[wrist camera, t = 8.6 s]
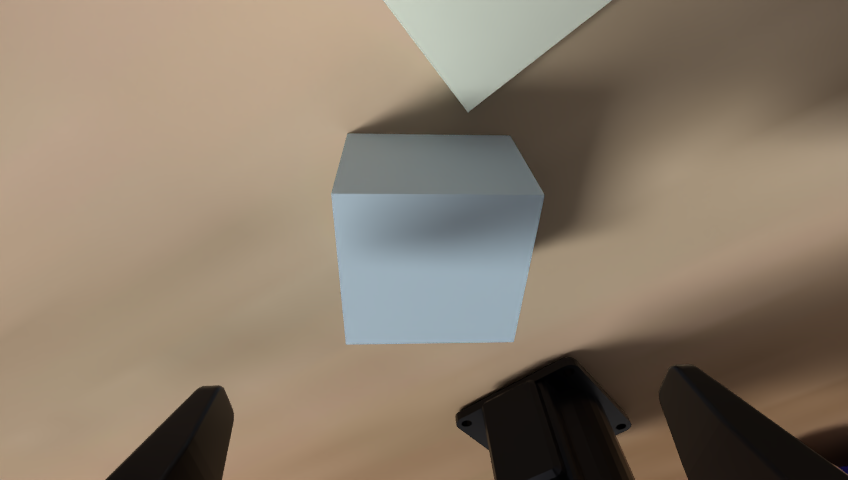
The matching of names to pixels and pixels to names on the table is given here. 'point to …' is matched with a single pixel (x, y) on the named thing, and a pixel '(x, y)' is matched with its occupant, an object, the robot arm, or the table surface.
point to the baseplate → (487, 37)
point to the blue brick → (433, 237)
